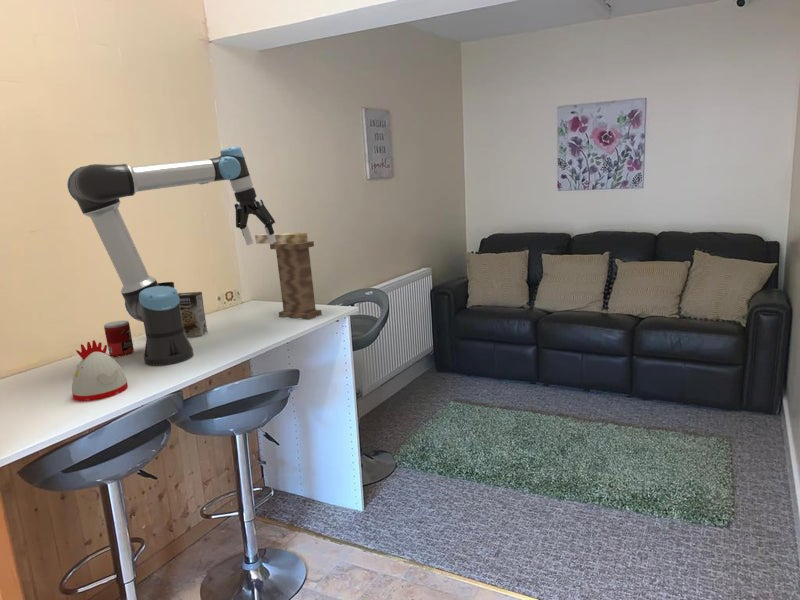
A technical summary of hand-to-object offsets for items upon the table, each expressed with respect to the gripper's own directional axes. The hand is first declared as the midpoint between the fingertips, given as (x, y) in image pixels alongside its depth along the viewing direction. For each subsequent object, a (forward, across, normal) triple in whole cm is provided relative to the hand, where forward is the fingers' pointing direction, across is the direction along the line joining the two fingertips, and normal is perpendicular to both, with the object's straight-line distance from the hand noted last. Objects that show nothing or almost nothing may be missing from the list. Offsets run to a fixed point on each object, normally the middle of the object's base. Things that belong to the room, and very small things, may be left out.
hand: (261, 243), depth 223 cm
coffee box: (+25, +18, +30) cm, 43 cm away
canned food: (+20, +21, +56) cm, 63 cm away
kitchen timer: (+17, -12, +79) cm, 82 cm away
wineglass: (+24, +27, +34) cm, 50 cm away
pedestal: (+34, -1, -6) cm, 34 cm away
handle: (+4, +4, -12) cm, 13 cm away
